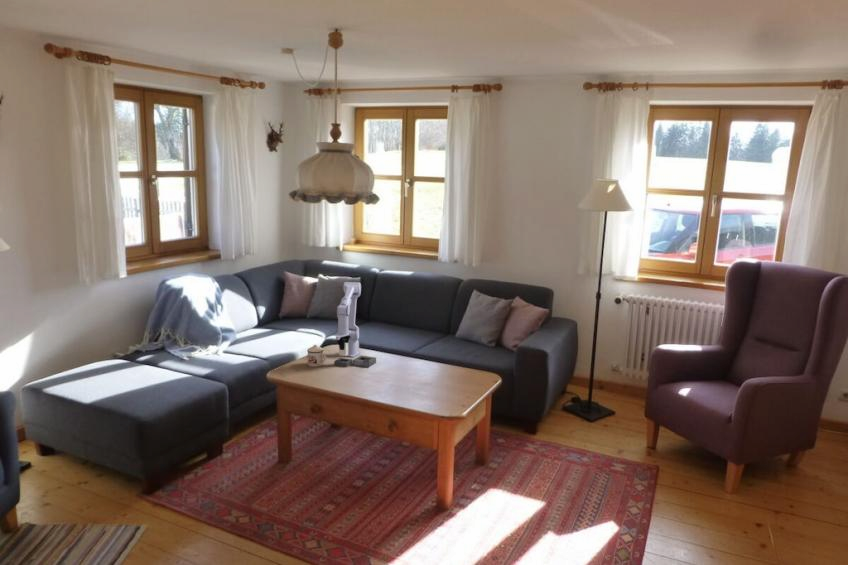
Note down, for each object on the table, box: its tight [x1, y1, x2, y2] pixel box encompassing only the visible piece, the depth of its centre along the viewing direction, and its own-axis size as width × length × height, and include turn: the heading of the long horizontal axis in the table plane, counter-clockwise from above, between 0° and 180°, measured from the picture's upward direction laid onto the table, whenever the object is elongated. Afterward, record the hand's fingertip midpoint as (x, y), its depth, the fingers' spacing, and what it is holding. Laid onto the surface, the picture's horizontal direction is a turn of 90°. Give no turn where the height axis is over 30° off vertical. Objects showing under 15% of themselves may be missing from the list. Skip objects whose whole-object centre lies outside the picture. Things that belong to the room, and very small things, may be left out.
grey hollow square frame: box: [333, 357, 354, 368], centre depth 354 cm, size 7×8×2 cm
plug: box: [338, 343, 348, 357], centre depth 353 cm, size 3×4×7 cm, turn 69°
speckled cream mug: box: [307, 344, 327, 368], centre depth 351 cm, size 12×9×12 cm
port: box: [352, 355, 377, 369], centre depth 356 cm, size 10×10×3 cm
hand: (343, 348), depth 353 cm, fingers closed on plug, 3 cm apart
